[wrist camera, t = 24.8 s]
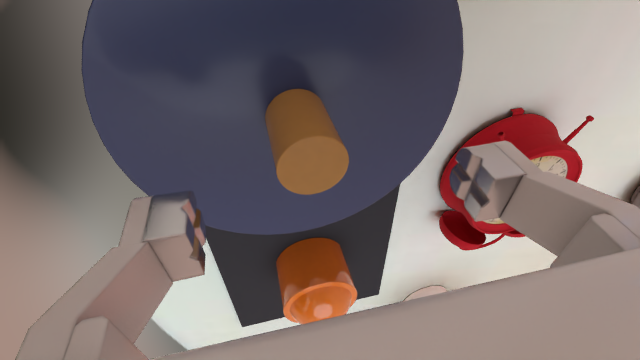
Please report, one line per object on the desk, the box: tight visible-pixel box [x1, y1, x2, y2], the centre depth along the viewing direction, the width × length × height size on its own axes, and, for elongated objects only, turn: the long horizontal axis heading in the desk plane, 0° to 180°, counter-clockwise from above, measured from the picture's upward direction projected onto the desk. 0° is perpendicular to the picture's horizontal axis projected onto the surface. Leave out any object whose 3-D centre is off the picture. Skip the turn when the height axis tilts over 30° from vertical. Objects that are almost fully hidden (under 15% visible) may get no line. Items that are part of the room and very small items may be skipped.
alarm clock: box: [439, 108, 594, 250], centre depth 28 cm, size 10×6×15 cm
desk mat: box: [205, 184, 400, 327], centre depth 31 cm, size 20×16×1 cm
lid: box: [82, 0, 463, 235], centre depth 13 cm, size 15×15×5 cm
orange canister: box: [276, 238, 357, 325], centre depth 28 cm, size 6×6×7 cm
